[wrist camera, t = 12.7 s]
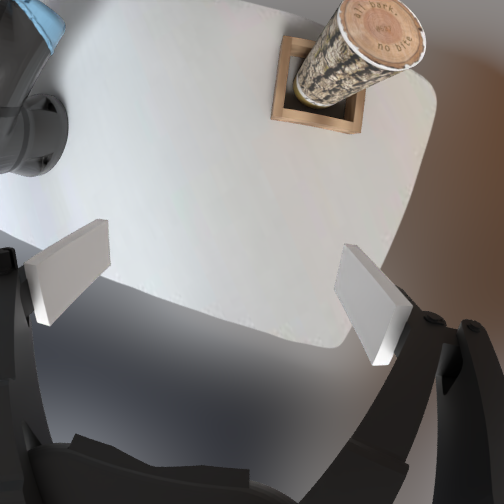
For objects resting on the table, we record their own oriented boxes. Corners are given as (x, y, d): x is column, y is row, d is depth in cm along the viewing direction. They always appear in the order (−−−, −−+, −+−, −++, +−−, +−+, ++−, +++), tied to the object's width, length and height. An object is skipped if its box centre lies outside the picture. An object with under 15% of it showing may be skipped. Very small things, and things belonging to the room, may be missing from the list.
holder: (270, 119, 39) (272, 115, 34) (280, 47, 35) (283, 35, 30) (349, 134, 39) (360, 132, 34) (357, 63, 35) (368, 55, 30)
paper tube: (286, 72, 36) (324, -11, 13) (329, 65, 35) (406, -8, 12) (299, 114, 38) (358, 72, 15) (342, 106, 38) (437, 69, 14)
